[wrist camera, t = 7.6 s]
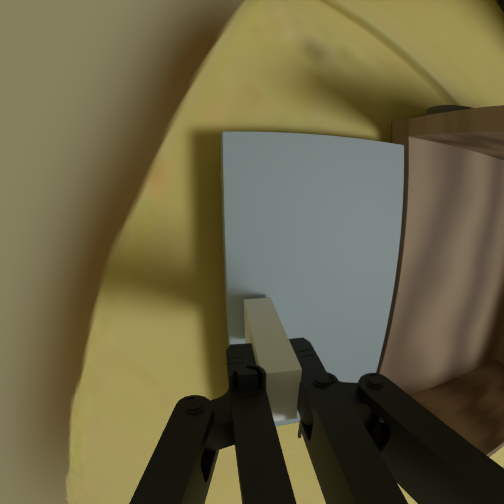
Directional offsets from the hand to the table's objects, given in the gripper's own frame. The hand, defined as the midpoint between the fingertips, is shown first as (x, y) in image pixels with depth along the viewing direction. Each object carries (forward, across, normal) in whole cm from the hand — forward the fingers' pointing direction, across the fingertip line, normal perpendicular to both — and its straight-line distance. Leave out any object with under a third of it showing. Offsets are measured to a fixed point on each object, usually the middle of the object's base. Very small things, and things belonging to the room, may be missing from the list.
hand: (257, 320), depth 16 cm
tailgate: (+1, +9, 0) cm, 9 cm away
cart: (+3, +19, 0) cm, 20 cm away
